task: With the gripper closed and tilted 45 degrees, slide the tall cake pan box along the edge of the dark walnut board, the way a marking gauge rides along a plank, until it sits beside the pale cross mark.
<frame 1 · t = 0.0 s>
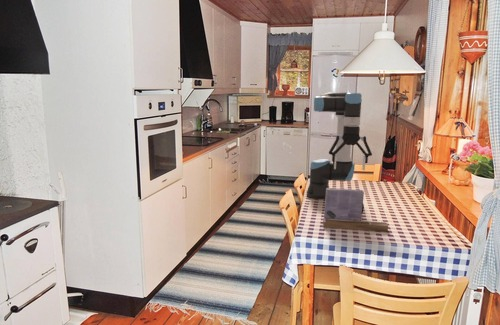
hand: (349, 169, 182), 28 cm above the table, tool pointing down, fingers open, 13 cm apart
cake pan box: (343, 223, 188), on the table
walnut board: (354, 227, 182), on the table
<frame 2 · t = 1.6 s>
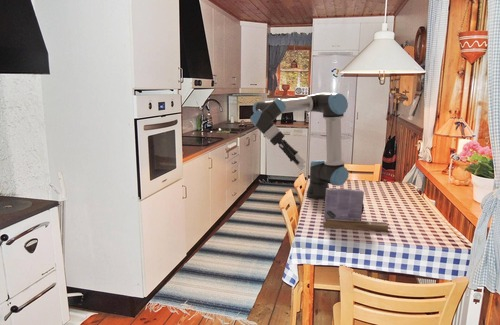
hand: (303, 165, 193), 27 cm above the table, tool tilted 45°, fingers open, 11 cm apart
nothing on the table moved.
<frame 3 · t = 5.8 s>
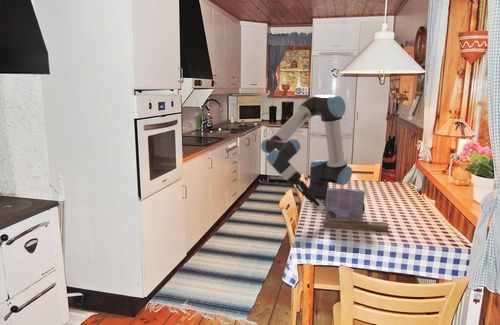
hand: (323, 209, 188), 7 cm above the table, tool tilted 45°, fingers closed
cake pan box: (344, 223, 188), on the table, touching gripper
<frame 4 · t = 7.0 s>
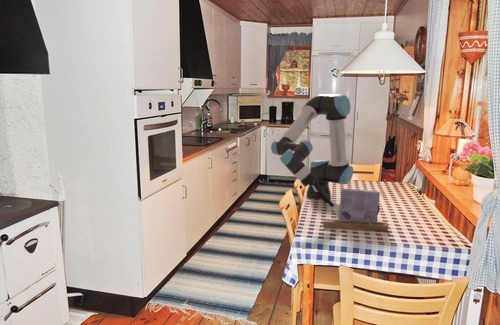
hand: (337, 210, 187), 7 cm above the table, tool tilted 45°, fingers closed
cake pan box: (358, 224, 187), on the table, touching gripper
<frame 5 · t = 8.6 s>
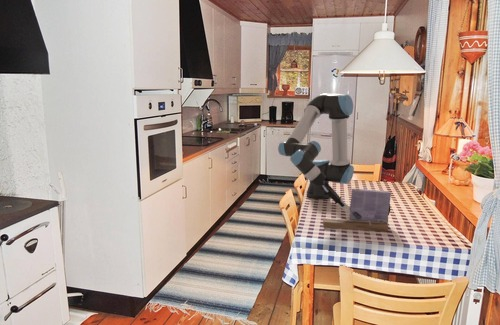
hand: (347, 210, 186), 7 cm above the table, tool tilted 45°, fingers closed
cake pan box: (368, 225, 186), on the table, touching gripper
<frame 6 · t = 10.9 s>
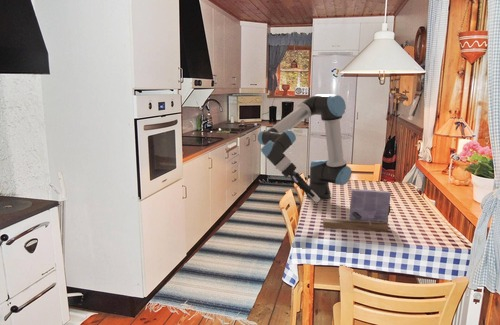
hand: (318, 200, 188), 11 cm above the table, tool tilted 45°, fingers closed
cake pan box: (368, 225, 186), on the table
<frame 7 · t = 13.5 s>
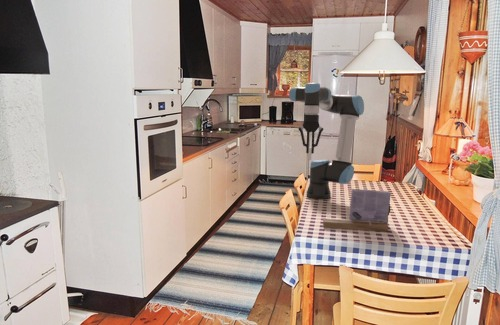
hand: (309, 159, 194), 30 cm above the table, tool pointing down, fingers closed
nothing on the table moved.
at the end: cake pan box inside the target area (0.9 cm from its centre), on the table; cake pan box tilted 0°; cake pan box moved 12.6 cm from its start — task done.
